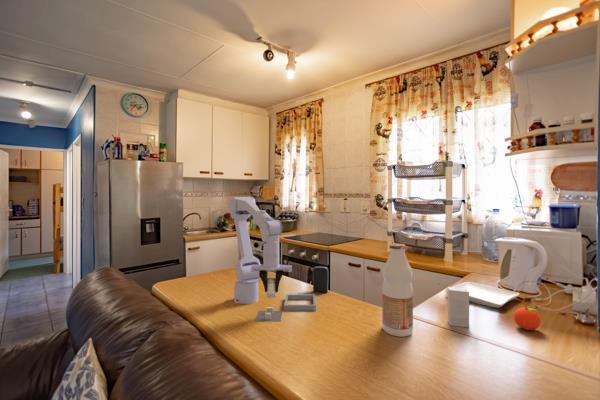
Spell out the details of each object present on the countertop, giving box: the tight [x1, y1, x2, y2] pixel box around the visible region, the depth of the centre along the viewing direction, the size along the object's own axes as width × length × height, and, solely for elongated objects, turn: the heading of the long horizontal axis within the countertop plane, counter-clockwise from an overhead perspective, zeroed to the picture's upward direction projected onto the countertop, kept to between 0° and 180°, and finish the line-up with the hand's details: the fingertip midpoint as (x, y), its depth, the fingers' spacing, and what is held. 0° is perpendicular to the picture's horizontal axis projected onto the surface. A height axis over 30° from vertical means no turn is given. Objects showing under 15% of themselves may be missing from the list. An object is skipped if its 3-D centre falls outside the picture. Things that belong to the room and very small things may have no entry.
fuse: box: [266, 276, 277, 299], centre depth 106 cm, size 3×3×6 cm
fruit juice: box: [381, 243, 414, 337], centre depth 95 cm, size 9×9×28 cm
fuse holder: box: [254, 306, 283, 322], centre depth 105 cm, size 9×9×3 cm
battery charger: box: [312, 265, 329, 294], centre depth 133 cm, size 7×4×11 cm, turn 79°
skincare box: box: [446, 286, 470, 328], centre depth 99 cm, size 6×4×12 cm
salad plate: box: [445, 281, 520, 309], centre depth 124 cm, size 21×21×3 cm
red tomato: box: [513, 306, 543, 331], centre depth 95 cm, size 8×7×7 cm
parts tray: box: [283, 293, 317, 312], centre depth 116 cm, size 12×12×3 cm
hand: (271, 291), depth 106 cm, fingers closed on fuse, 3 cm apart
